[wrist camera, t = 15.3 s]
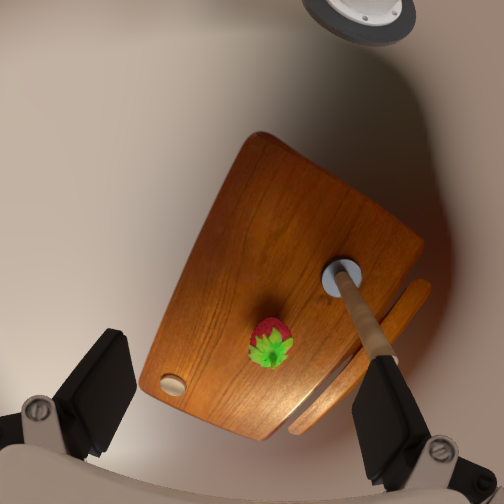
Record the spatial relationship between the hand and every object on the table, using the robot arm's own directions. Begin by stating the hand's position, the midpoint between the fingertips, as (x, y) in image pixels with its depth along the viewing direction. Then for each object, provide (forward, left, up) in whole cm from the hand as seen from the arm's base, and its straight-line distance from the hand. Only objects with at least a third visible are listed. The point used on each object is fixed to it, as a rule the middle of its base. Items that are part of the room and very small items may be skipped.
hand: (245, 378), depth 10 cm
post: (+8, +12, -30) cm, 34 cm away
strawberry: (+17, +3, -31) cm, 35 cm away
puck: (+34, -14, -30) cm, 47 cm away
